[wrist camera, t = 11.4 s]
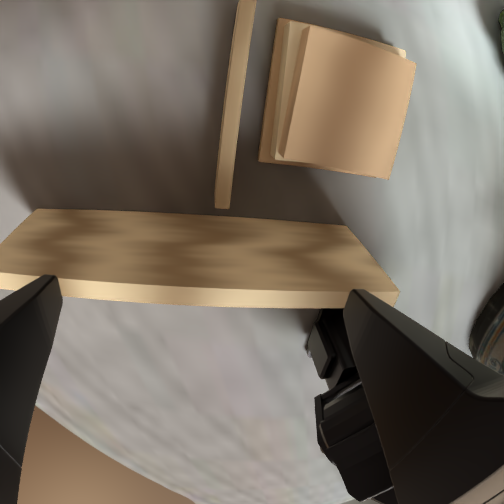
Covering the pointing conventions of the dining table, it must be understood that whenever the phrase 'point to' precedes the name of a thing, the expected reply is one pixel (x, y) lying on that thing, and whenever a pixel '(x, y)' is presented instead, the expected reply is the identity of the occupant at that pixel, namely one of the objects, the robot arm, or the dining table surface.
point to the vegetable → (503, 22)
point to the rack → (196, 243)
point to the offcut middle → (287, 71)
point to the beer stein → (490, 334)
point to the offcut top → (346, 104)
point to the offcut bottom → (271, 104)
